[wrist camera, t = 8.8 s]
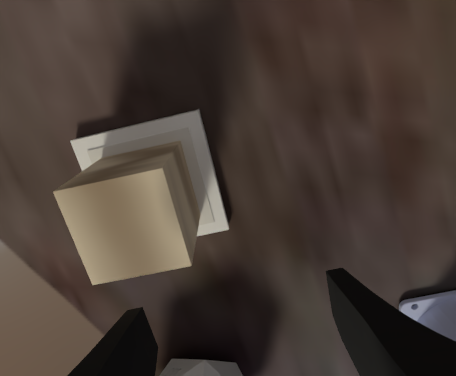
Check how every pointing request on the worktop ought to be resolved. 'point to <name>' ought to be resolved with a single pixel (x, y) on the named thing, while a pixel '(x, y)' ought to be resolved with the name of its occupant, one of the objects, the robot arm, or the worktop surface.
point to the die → (200, 368)
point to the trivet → (157, 135)
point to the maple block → (132, 213)
